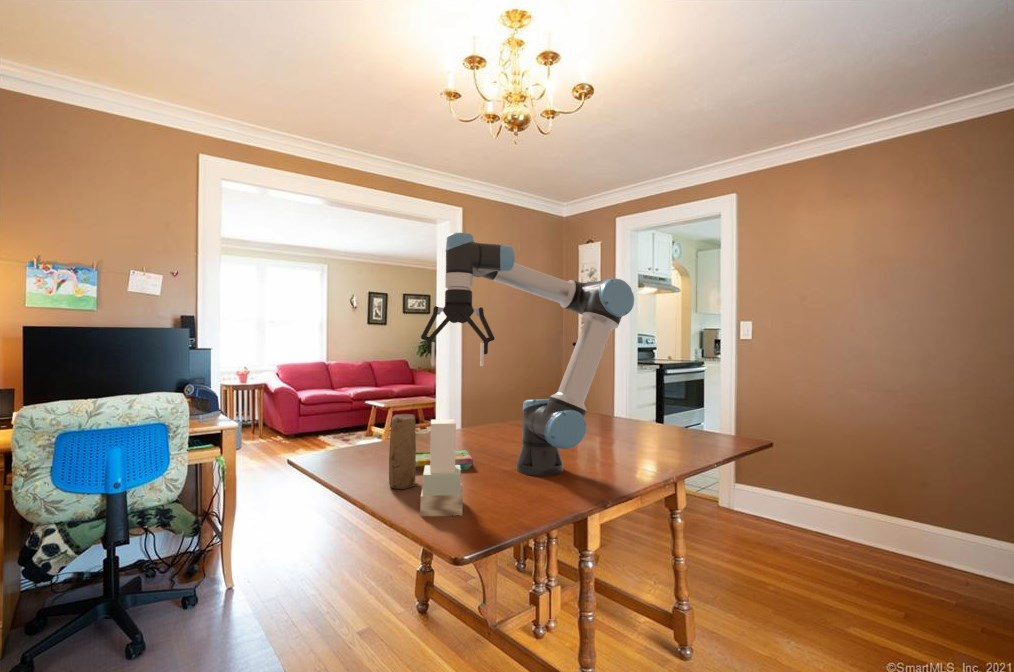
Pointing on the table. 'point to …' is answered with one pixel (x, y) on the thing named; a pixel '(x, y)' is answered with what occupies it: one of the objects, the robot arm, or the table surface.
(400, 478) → the block
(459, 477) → the tower top
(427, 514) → the tower base
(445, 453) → the cream block
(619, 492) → the table surface
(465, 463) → the puzzle game
